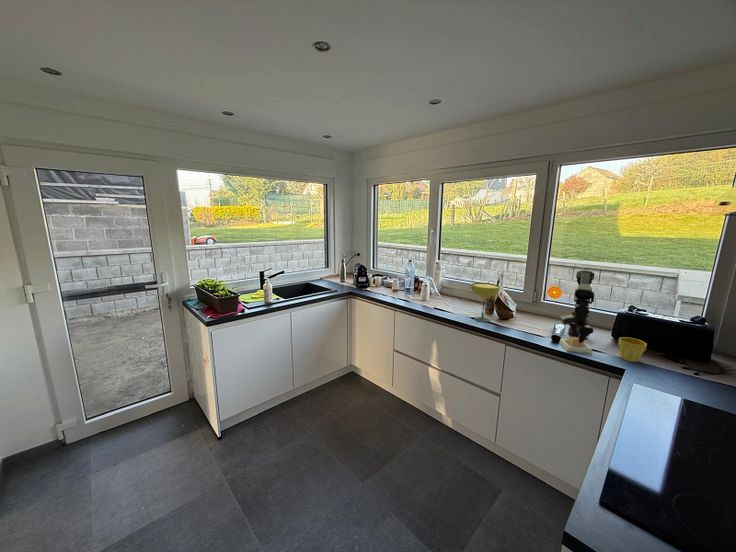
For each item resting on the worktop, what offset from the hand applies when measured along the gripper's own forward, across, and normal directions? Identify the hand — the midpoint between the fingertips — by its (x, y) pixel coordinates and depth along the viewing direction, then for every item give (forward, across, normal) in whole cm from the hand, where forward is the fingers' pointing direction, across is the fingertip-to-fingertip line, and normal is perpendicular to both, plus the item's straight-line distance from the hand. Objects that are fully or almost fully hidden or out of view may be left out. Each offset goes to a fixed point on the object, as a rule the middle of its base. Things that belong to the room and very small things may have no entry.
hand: (576, 339), depth 155 cm
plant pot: (+6, +5, +22) cm, 23 cm away
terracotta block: (+5, 0, 0) cm, 5 cm away
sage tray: (+6, 0, 0) cm, 6 cm away
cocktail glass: (+6, -35, -44) cm, 57 cm away
